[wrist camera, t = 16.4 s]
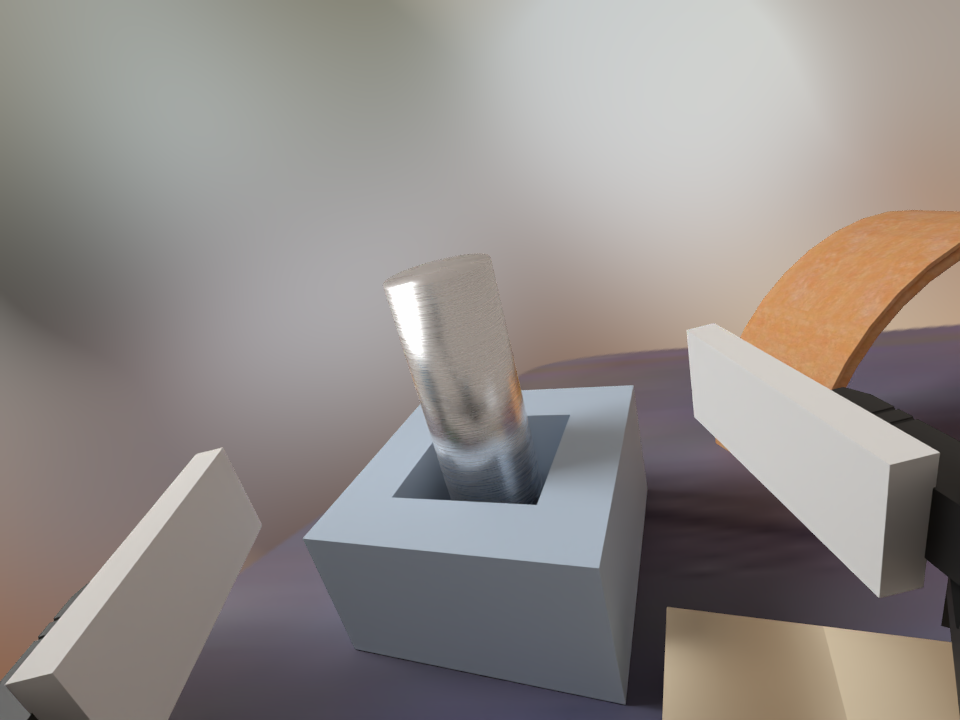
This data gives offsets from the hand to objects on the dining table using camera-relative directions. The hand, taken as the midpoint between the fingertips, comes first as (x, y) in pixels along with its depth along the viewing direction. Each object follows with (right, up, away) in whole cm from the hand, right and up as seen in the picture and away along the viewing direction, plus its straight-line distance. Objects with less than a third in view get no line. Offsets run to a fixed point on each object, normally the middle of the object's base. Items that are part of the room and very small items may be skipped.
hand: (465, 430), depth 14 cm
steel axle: (+2, -7, +9) cm, 12 cm away
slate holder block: (+2, -7, +9) cm, 12 cm away
